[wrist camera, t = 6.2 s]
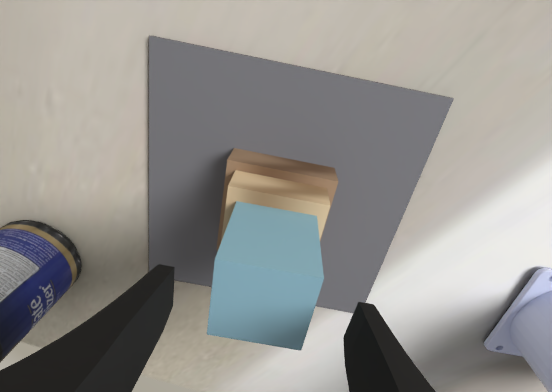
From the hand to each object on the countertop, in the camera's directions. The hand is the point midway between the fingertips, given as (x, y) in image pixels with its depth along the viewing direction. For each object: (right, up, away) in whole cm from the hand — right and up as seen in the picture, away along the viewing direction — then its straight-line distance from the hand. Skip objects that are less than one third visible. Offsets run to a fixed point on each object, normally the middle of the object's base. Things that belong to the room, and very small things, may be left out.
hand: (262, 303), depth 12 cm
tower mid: (0, +3, +6) cm, 6 cm away
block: (0, +2, +4) cm, 4 cm away
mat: (0, +4, +8) cm, 9 cm away
